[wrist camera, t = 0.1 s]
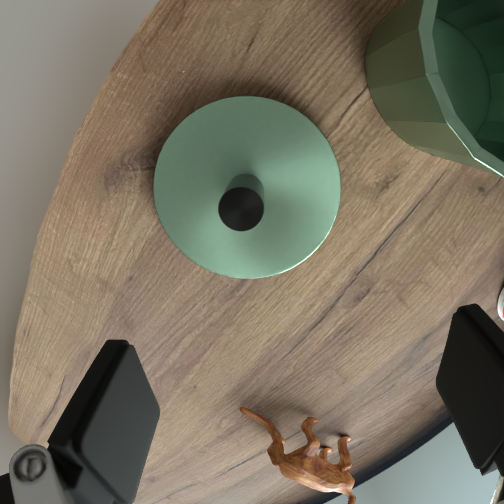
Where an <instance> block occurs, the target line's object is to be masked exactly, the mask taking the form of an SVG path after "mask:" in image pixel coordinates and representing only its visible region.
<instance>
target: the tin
mask: <svg viewBox="0 0 504 504" xmlns="http://www.w3.org/2000/svg"><path fill="white" fill-rule="evenodd" d="M365 73H366V79H367V85H368V88H369V91H370V94H371V97H372V99H373V102H374V104H375V106H376V108H377V110H378V111H379V113H380V115H381V116H382V118H383V119H384V121H385V122H386V123H387V125H388V126H389V127H390V128H391V129H392V130H393V132H394V133H396V134H397V135H398V136H399V137H400V138H401V139H402V140H404V141H405V142H406V143H408V144H409V145H411V146H413V147H415V148H416V149H418V150H421V151H424V152H426V153H428V154H430V155H432V156H436V157H440V158H443V159H447V160H451V161H454V162H458V163H461V164H465V165H468V166H471V167H475V168H478V169H481V170H484V171H488V172H491V173H494V174H497V175H500V176H503V177H504V0H405V1H404V2H403V3H401V4H400V5H399V6H397V7H396V8H395V9H394V10H392V11H391V12H390V13H389V14H388V15H387V16H386V17H385V18H384V19H383V20H382V21H381V22H380V23H379V24H378V25H377V26H376V27H375V28H374V30H373V32H372V34H371V36H370V39H369V42H368V44H367V49H366V54H365Z"/></svg>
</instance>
